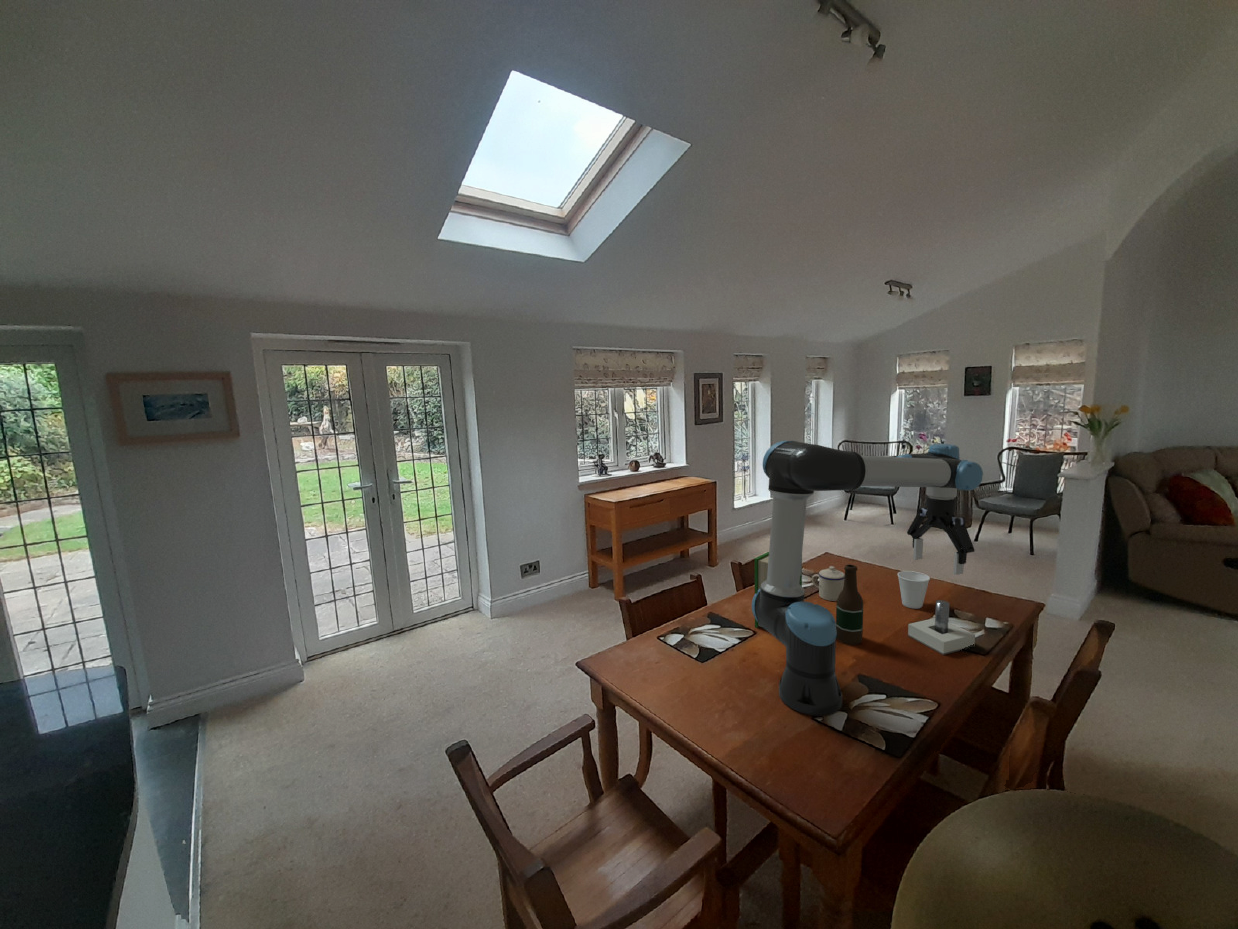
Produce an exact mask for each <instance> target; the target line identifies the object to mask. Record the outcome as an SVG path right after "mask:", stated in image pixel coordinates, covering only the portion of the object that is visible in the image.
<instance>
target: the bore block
mask: <svg viewBox="0 0 1238 929" xmlns="http://www.w3.org/2000/svg"><path fill="white" fill-rule="evenodd" d="M907 626H908V627H907V629H908V631H907V633H908V634H907V637H909V638H910V639H913V640H915V641H916V642H918V643H920V644H922V645H924V646H925V647H928V648H929V649H932V650H933V651H935V652H936V653H939V654H940V655H942V656H944V655H949V654H952V653H956V652H960V650H961V651H963V650H962V649H964V648H965V647H968V646H970V645H973V644H974V645H975V642H976V641H975V639H976V634H975V633H973V632H970V631H968V630H966V629H964V628H962V627H960V626H958V625H956V624H954V623H952V622H948V633H946V634H940V633H938V632H936V631H935V617H934V618H929V619H925V620H919V621H916V622H912V623H908V625H907Z"/></svg>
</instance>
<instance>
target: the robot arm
mask: <svg viewBox="0 0 1238 929" xmlns="http://www.w3.org/2000/svg"><path fill="white" fill-rule="evenodd" d="M762 469H763V472H764V474H765V475H766V477H767V478H768V488H767V489H768V491H769V492H770V494H771V495H772V496H773V502H772V513H771V525H770V537H769V549H768V552H769V559H768V572H767V580H765V581H764V582H763V583H761V588H760V589H759V590H758V593H757V594H755V593H754V595H753V597H752V600H751V612H752V616H754V620H755V619H756V620H757V621H758V622H759V624H760V625H761V626H762V627H761V628H762V629H764V630H765V631H766V632H768V633H769V634H770V635H772V636H773V637H774V638H775V639H776V640H777V641H779V643H780V644H782V645H784V646H785V649H786V650H785V668H784V671H783V673H782V677H781V678H780V680H779V682H778V696H779V698H780V699H781V701H782V702H783V703H784V704H785V705H786V706H787V707H788V708H790V709H792V710H794V711H796V712H798V713H801V714H804V715H808V716H813V717H815V716H817V717H822V716H825V717H826V716H830V715H833V714H836V713H837V712H839V711H840V710H841V708H842V707H843V693H842V692H843V691H842V690H841V687H840V683H839V680H838V678H837V675H836V658H837V657H836V654H837V653H836V651H837V650H836V649H837V638H836V635H837V630H836V618H835V617H834V615H833V614H832V613H831V611H830V610H829V609H827V608H826V607H824V606H823V605H820V604H818V603H817V604H814V603H813V602H809V601H805V595H806V594H805V593H806V592H805V591H806V590H805V589H804V588H803V586H802V587H801V586H800V584H799V583H800V572H801V561H802V562H803V549H804V548H803V546H804V537H805V535H804V534H805V524H806V513H807V511H806V510H807V504H808V503H807V501H808V499H809V498H810V497H812V496H813V495H814V493H815V492H829V491H830V492H831V491H857V490H859V489H860V488H861V487H879V488H881V487H882V488H883V487H886V488H888V487H891V488H892V487H893V488H926V490H925V491H926V492H925V495H927V496H926V497H925V507H921V508H916V515H915V517H914V519H913V521H912V522H911V524H910V526H909V528H908V529H907V531H906V533H907V535H908V536H911V538H912V548H913V558H912V559H913V560H915V561H917V560H922V559H923V553H924V552H923V549H924V538H923V536H924V534H926V533H927V532H928V531H930V529H931V528H938V529H939V530H943V532H945V533H946V534H947V535H948V537H949V540H951V543H952V544H953V546H954V548H955V549H956V551H954V557H953V558H954V560H953V575H956V576H957V575H964V566H965V564H967V557H968V554H969V553H974V552H975V547H974V545H973V542H972V539H971V537H970V534H969V531H968V528H967V526H966V518H965V517H956V516H955V513H956V510H957V502H958V500H957V499H956V497H957V496H958V490H959V491H973V490H975V489H977V488H978V487H979V486H980V485H981V483H982V482H983V475H984V472H983V468H982V467H981V465H980V464H979V463H977V462H974V461H971V460H968V459H967V460H966V459H960V448H959V446H958V445H956V444H947V443H937V444H936V443H935V444H931V445H929V447H928V451H927V452H921V453H906V454H905V453H904V454H901V455H897V456H876V455H875V456H874V455H873V456H871V455H870V456H869V455H862V454H861V453H859V452H858V451H853V450H851V451H850V450H849V451H848V450H841V449H836V448H832V447H829V446H825V445H824V446H823V445H820V444H813V443H809V442H808V443H807V442H802V441H798V440H797V441H796V440H782V441H777V442H775V443H774V444H772V445H771V446H769V448H768V449H767V450H766V452H765V454H764V456H763V458H762ZM925 518H926V519H925ZM924 520H925V521H924Z"/></svg>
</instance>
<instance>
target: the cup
mask: <svg viewBox="0 0 1238 929" xmlns="http://www.w3.org/2000/svg"><path fill="white" fill-rule="evenodd" d="M897 576H898V583H899V589H900V596H901V603H902V605H903V606H904V607H906V608H909V609H914V610H915V609H921V608H922V607H923V605H924V601H925V597H926V593H927V591H928V586H929V585H928V584H929V582H930V580H931V577H930V576H929V575H928V574H925V573H922V572H921V571H920V572H919V571H913V570H901V571H899V572H897Z"/></svg>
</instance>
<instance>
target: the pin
mask: <svg viewBox="0 0 1238 929" xmlns="http://www.w3.org/2000/svg"><path fill="white" fill-rule="evenodd" d="M934 615H935V616H934V618H935V631H936V632H938V633H940V634H946V633H948V622H949V619H950V602H948V601H946V600H944V599H943V600H942V599H937V600H935V614H934ZM949 623H950V622H949Z"/></svg>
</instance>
